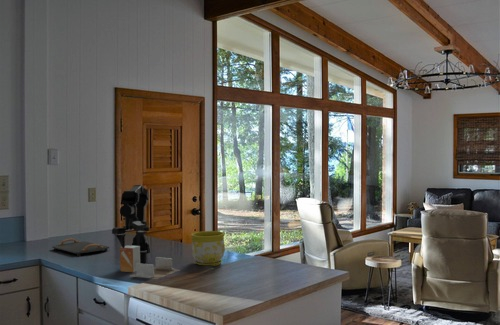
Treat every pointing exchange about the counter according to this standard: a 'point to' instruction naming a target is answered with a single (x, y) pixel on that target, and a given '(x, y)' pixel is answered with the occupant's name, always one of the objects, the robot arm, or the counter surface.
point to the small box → (129, 258)
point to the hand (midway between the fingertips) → (131, 247)
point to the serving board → (79, 247)
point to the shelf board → (160, 273)
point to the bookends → (148, 269)
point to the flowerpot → (208, 247)
